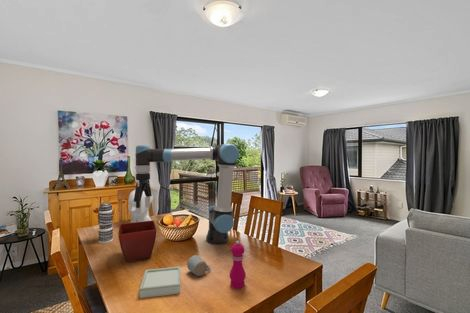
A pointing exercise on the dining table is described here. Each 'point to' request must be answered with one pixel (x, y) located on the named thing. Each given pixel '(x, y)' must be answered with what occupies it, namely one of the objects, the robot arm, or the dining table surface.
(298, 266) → the dining table surface
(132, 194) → the head sculpture
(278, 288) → the dining table surface
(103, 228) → the decorative candle
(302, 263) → the dining table surface
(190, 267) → the ceramic mug
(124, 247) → the plant pot
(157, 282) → the display plinth
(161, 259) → the dining table surface
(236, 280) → the pepper mill
